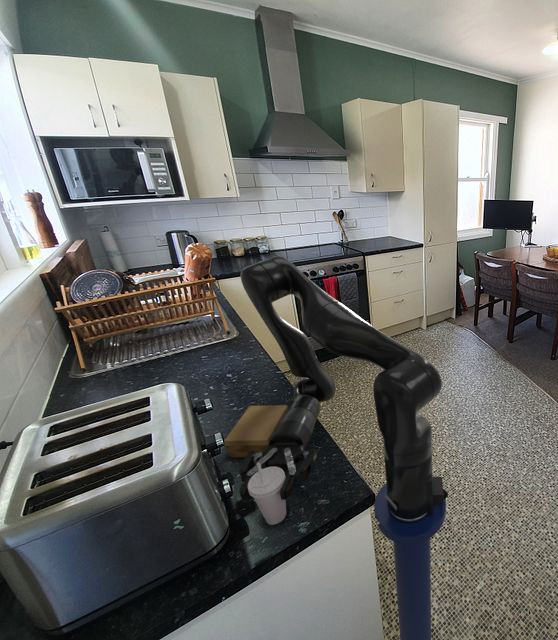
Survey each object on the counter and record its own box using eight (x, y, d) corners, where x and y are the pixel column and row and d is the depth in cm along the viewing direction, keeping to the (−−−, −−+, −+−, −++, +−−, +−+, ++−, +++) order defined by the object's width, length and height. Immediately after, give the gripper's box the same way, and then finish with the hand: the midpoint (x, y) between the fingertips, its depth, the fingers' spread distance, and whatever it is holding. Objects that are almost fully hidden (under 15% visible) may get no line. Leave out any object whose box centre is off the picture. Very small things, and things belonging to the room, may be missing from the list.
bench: (290, 420, 93) (287, 405, 91) (271, 456, 81) (267, 440, 79) (253, 420, 93) (249, 405, 91) (229, 457, 81) (223, 440, 79)
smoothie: (253, 516, 67) (236, 462, 62) (284, 495, 71) (271, 443, 66) (266, 538, 63) (249, 483, 57) (299, 515, 67) (286, 461, 62)
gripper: (258, 419, 76) (217, 482, 60) (324, 418, 76) (299, 480, 60) (265, 446, 79) (227, 512, 63) (328, 444, 79) (306, 510, 63)
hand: (263, 496), depth 62 cm, fingers closed on smoothie, 6 cm apart
